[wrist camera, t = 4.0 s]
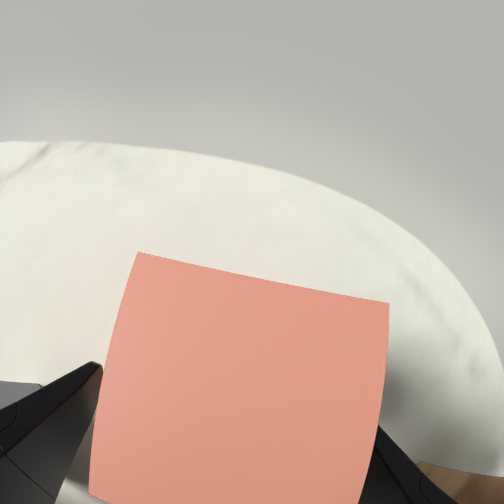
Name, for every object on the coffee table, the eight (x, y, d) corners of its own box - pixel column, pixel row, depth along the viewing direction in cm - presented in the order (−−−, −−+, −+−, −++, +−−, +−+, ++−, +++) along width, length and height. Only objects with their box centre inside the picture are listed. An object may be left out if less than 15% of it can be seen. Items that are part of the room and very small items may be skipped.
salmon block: (257, 427, 15) (348, 529, 3) (177, 411, 14) (88, 494, 3) (271, 353, 17) (389, 303, 5) (193, 337, 17) (137, 251, 5)
